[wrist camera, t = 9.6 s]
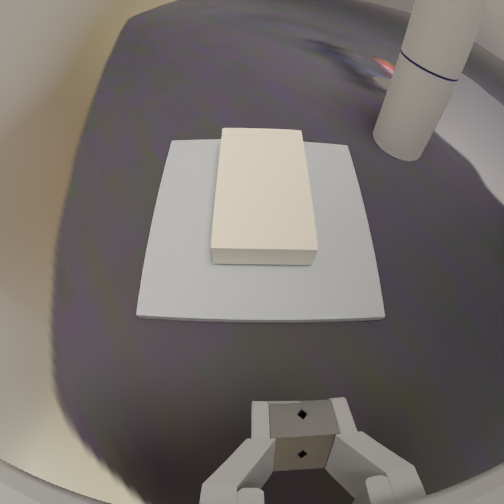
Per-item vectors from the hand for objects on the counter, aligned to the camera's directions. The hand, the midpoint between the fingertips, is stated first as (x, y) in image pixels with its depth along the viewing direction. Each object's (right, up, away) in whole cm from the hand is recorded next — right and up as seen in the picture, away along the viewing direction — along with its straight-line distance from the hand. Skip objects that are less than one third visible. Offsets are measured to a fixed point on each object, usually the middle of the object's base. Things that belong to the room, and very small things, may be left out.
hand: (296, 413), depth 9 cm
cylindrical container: (+17, +19, +27) cm, 37 cm away
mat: (-1, +8, +20) cm, 21 cm away
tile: (-1, +5, +15) cm, 16 cm away
